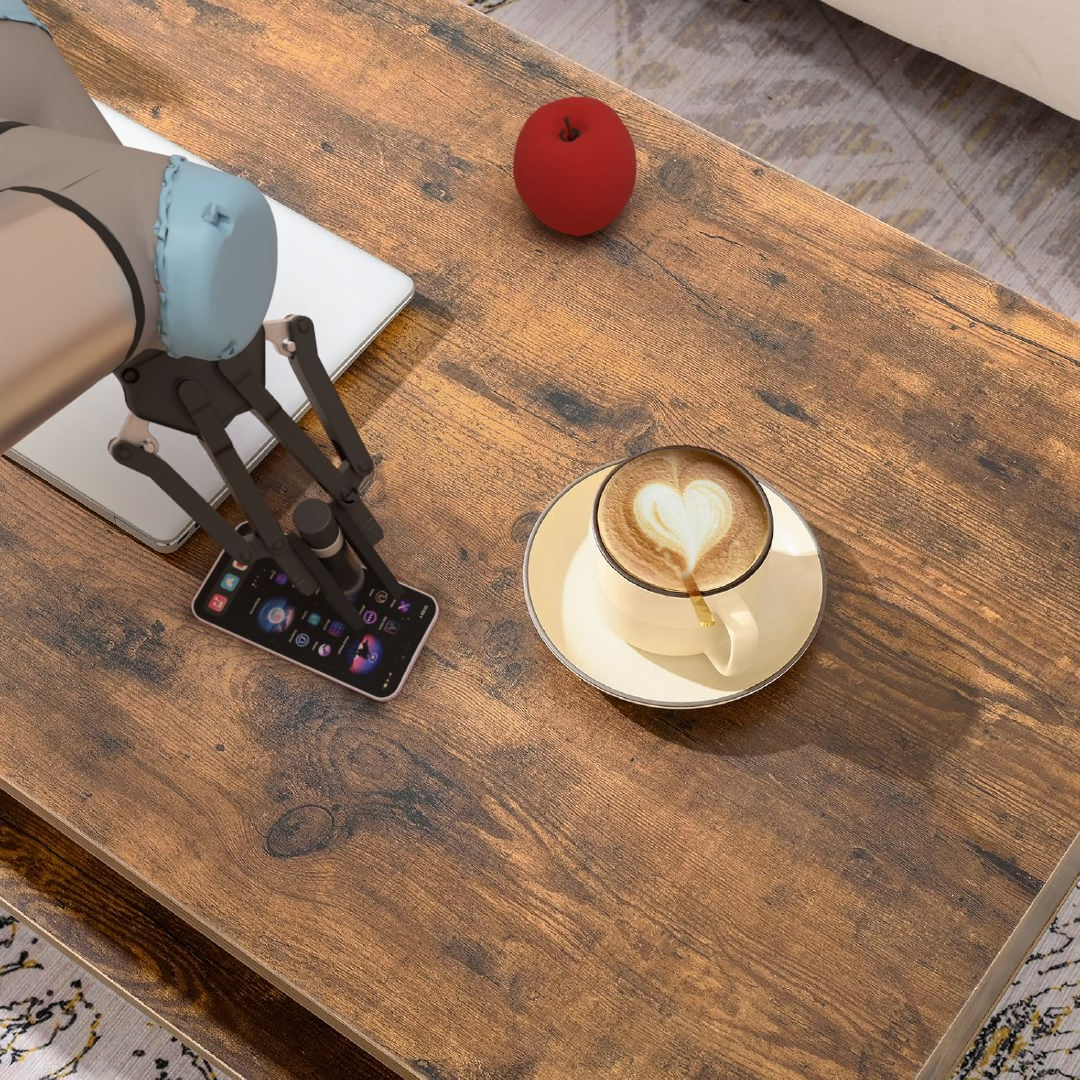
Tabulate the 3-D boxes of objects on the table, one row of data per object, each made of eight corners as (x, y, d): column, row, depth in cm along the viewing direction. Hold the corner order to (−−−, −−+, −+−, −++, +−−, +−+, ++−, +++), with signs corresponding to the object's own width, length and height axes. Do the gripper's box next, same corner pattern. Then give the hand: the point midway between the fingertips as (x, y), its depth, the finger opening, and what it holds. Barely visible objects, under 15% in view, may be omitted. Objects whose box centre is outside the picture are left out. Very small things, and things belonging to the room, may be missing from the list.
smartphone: (243, 514, 77) (444, 600, 74) (245, 518, 78) (445, 603, 75) (184, 612, 75) (390, 705, 72) (187, 616, 75) (392, 707, 72)
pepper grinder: (340, 606, 74) (306, 545, 65) (316, 577, 75) (279, 513, 66) (372, 580, 75) (343, 516, 65) (348, 552, 75) (316, 486, 66)
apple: (655, 232, 86) (664, 136, 77) (542, 272, 85) (537, 179, 76) (607, 142, 89) (610, 40, 80) (497, 179, 88) (488, 80, 79)
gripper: (232, 197, 66) (448, 517, 76) (-2, 353, 62) (258, 667, 72) (263, 190, 59) (495, 541, 69) (3, 363, 55) (288, 707, 65)
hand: (373, 605), depth 71 cm, fingers closed on pepper grinder, 2 cm apart
